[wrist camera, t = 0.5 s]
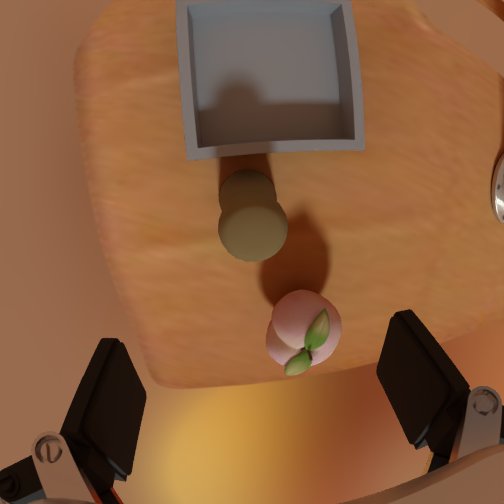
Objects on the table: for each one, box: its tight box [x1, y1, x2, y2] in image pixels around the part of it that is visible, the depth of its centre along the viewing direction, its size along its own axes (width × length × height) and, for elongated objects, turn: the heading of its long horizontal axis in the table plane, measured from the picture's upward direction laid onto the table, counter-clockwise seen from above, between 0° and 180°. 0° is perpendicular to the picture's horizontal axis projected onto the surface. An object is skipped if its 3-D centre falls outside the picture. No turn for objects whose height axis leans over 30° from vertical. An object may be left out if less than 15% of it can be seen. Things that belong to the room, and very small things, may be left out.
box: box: [176, 0, 365, 161], centre depth 23 cm, size 16×16×4 cm
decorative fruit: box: [266, 290, 342, 375], centre depth 31 cm, size 9×8×10 cm
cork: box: [218, 170, 288, 262], centre depth 25 cm, size 6×6×11 cm
